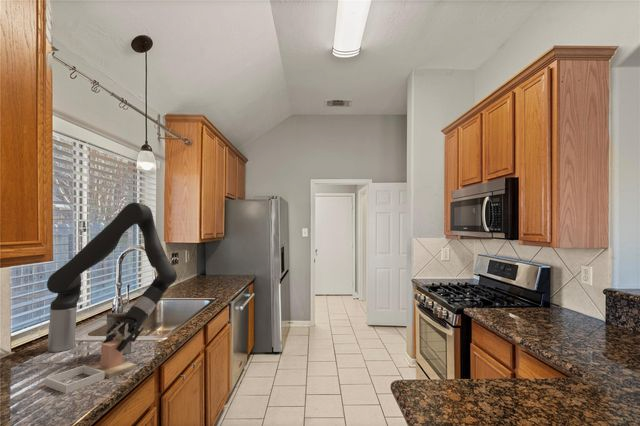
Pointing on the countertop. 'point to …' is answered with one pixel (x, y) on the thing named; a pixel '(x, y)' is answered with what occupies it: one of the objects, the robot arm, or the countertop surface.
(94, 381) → the square frame
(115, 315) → the coffee box
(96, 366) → the maple board
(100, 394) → the countertop surface
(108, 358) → the terracotta block
